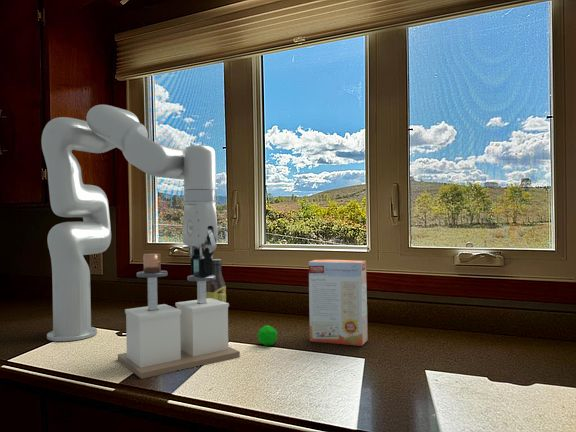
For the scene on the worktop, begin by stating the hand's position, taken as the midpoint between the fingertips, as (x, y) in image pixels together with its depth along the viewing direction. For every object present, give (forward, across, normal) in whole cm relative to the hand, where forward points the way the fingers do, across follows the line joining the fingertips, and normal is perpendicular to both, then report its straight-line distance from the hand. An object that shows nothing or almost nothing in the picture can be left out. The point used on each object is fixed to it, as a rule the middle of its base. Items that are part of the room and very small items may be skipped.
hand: (201, 274), depth 110 cm
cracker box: (+19, +13, +32) cm, 39 cm away
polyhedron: (+19, +4, +16) cm, 25 cm away
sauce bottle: (+19, -22, +15) cm, 33 cm away
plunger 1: (+9, 0, -12) cm, 15 cm away
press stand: (+19, 0, -6) cm, 20 cm away
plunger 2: (+11, 0, 0) cm, 11 cm away
